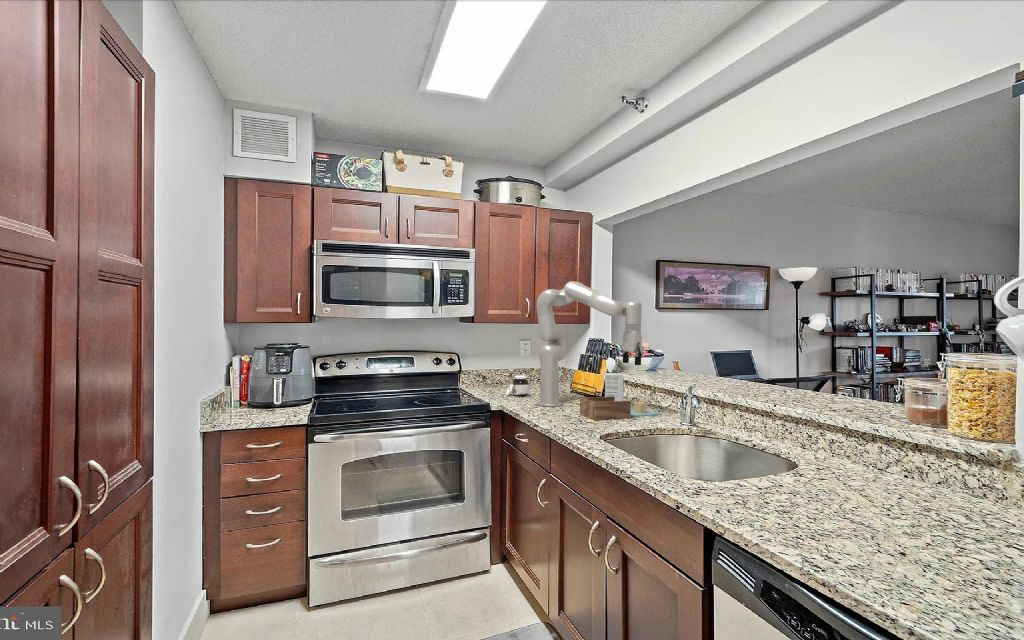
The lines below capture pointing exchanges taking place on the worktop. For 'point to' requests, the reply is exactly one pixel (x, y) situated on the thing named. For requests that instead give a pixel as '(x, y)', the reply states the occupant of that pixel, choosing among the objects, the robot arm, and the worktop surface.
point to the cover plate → (648, 413)
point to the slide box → (604, 408)
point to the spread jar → (519, 386)
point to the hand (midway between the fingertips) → (631, 364)
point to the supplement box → (614, 385)
